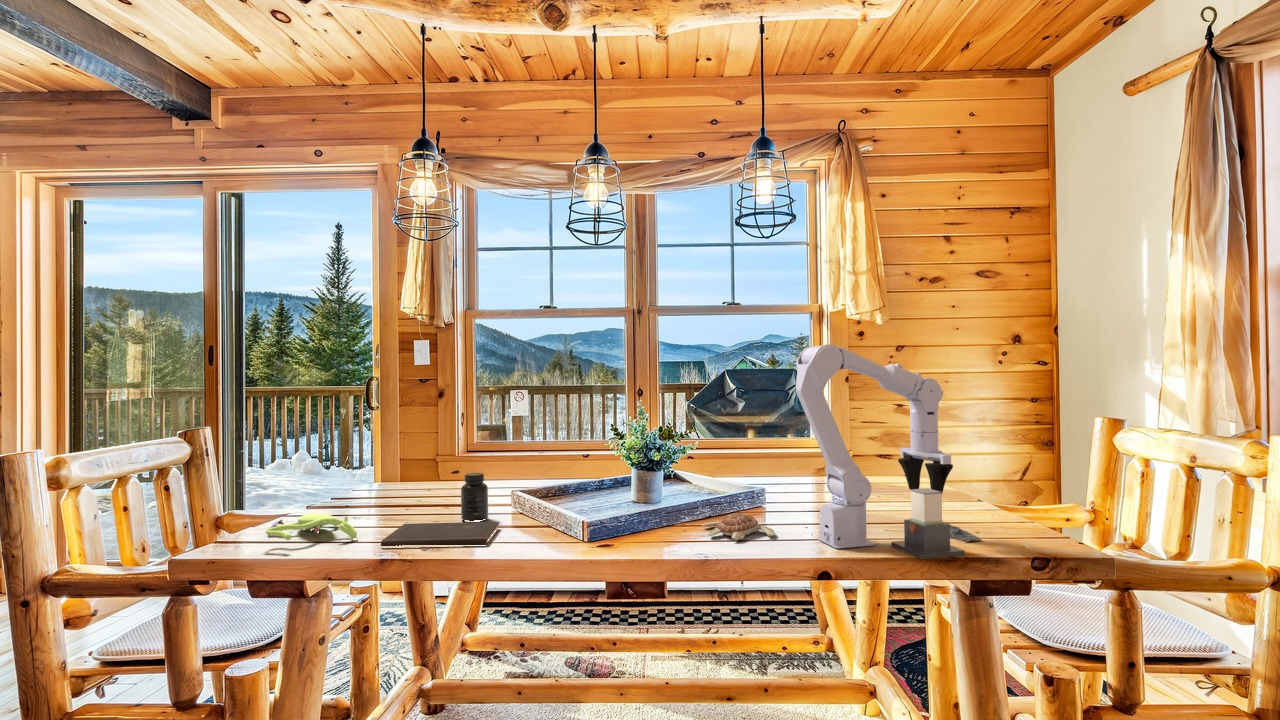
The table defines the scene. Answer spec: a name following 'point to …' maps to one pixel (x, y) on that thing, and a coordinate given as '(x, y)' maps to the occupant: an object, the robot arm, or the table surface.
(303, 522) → the figurine
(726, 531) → the decorative turtle
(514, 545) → the table surface
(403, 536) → the hardcover book
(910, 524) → the sleeve stand
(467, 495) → the supplement bottle
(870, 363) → the robot arm
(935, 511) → the post
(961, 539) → the driftwood
